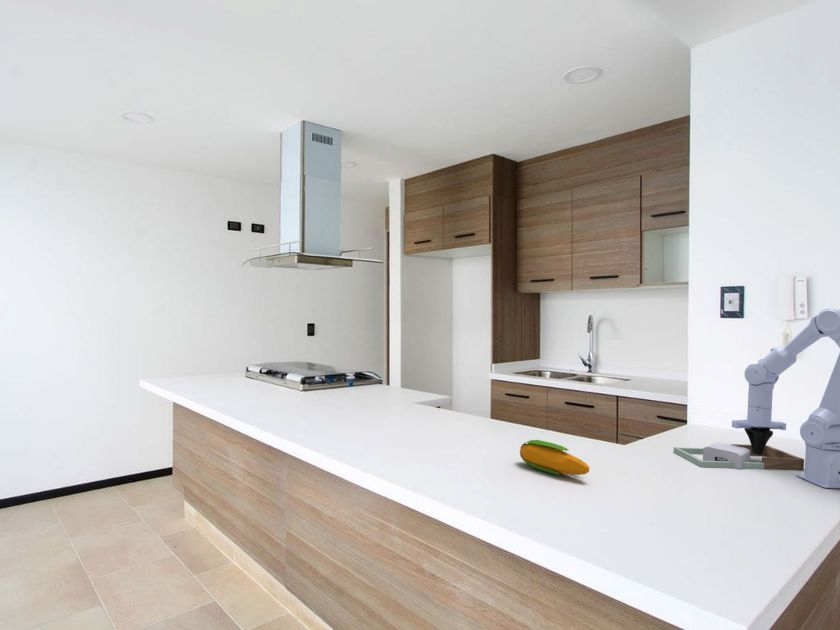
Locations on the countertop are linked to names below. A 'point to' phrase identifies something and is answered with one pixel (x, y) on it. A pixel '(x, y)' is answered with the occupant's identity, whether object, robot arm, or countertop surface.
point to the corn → (552, 458)
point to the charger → (726, 454)
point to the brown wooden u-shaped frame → (777, 458)
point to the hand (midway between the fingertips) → (757, 453)
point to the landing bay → (716, 464)
